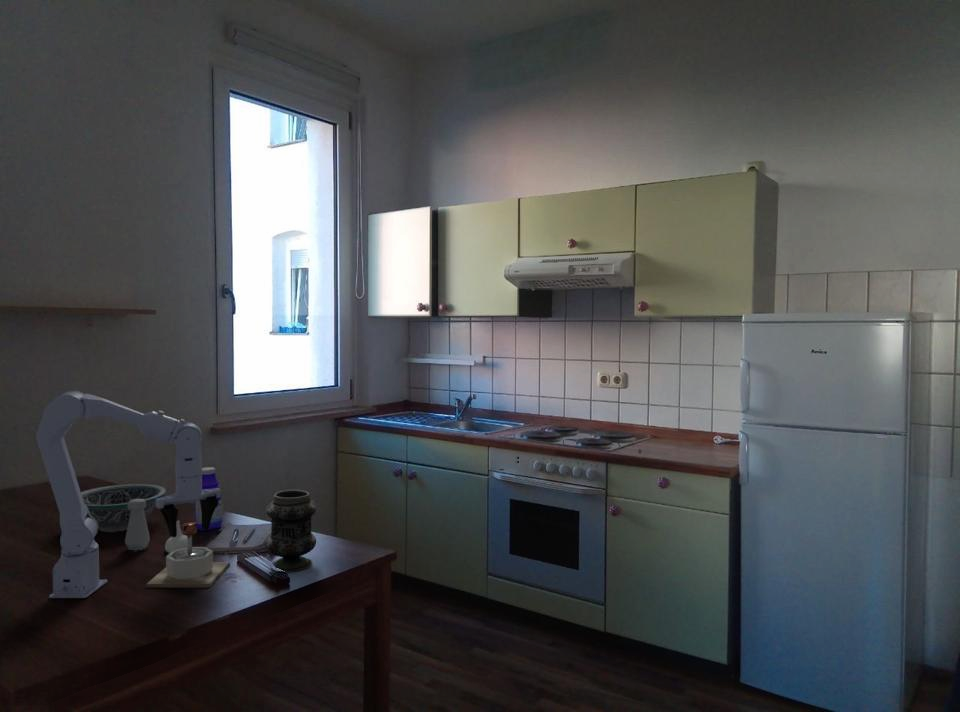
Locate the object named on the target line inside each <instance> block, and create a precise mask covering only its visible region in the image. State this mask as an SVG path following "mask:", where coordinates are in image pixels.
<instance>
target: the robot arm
mask: <svg viewBox="0 0 960 712" xmlns="http://www.w3.org/2000/svg"><path fill="white" fill-rule="evenodd" d="M84 415H85V416H84ZM83 416H84V419H85V420H89V419H93V418H99V417H103V418H106V419H110V420H113V421H116V422H120V423H123V424H126V425H130V426H134V427H136V428H138V429H139V431H140V433H141V435H142V436H145V437H149V438H151V439H154V440H158V441H160V442H163V443H166V444H170V445H171V444H174V445H175V447H176V449H175V450H176V456H175V457H174V459H175V460H174V461H175V462H174V463H175V466H174V467H175V469H174V470H175V493H173V494H168V495H164V496H162V497H161V498H157V499H156V505H155V508H156V509H158V510H159V512H161V513H160V514H162V516H163V519H164V520H165V523H166V527H167V529H168V534H169V536H170V537H176V536H177V525H176V522H177V521H178V514H179V509H177V508H176V506H177V505H181V504H186V503H187V504H188V503H193V502H195V501H198V500H200V505H201V512H202V529H205V530H206V531H210V530H209V525H210V521H211V518H212V515H213V513H214V510H215V508H216V507H217V505H218V499H216V498H218V497H221V493H222V491H221V489H220V488H219V489H218V488H213V489H204V490H202V468H203V465H202V464H203V463H202V462H203V456H202V453H201V452H202V447H201V444H202V443H203V437H202V431H201V428H200V427H199V425H197V424H195V423H194V422H191V421H186V420H185V419H184V418H181V419H180V420H179V419H176V418H174V417H171V416H168V415H165V412H164V411H163V410H160V409H159V410H158V412H157V411H150V412H148V413H147V412H146V413H142V412H140V411H137V410H134V409H133V408H130V407H127V406H126V405H122V404H119V403H116V402H115V401H111V400H109V399H106V398H103V397H100V396H97V395H94V394H89V393H83V392H81V391H78V390H69V391H66V392H63V393H62V394H61V395H59V396H56V397H55V398H54V399H53V400H52V401H51V402H50V403H49V404H48V405H47V407H46V408H45V409H44V412H43V415H42V418H41V421H40V423H39V426H38V429H37V432H36V434H35V437H36V438H35V439H36V441H37V442H36V443H37V445H38V448H39V451H40V455H41V458H42V461H43V464H44V467H45V470H46V474H47V477H48V480H49V483H50V486H51V489H52V492H53V493H52V494H53V496H54V499H55V502H56V506H57V509H58V512H59V526H60V530H61V534H60V538H59V539H60V540H59V542H60V543H59V544H60V546H61V549H60V551H61V554H60V558H59V560H57V562H56V563H55V564H54V566H53V567H52V593H51V594H49V596H48V598H49V599H86V598H87V597H90V595H92V594H93V593H95V592H96V591H97V590H98V589H100V588H101V587H102V586H104V585H105V584H106V583H108V579H100V554H99V553H100V551H99V548H100V547H99V544H98V543H97V542H96V541H95V537H96V535H97V534H98V531H99V530H98V523H97V521H96V520H95V519H94V518H93V517H92V516H91V515H90V513H89V510H88V508H87V506H86V505H85V504H84V501H83V498H82V495H81V492H82V491H81V489H80V486H79V482H78V479H77V475H76V471H75V469H74V466H73V464H72V460H71V457H70V453H69V450H68V447H67V444H66V440H65V435H66V434H67V433H68V431H69V430H70V429H71V427H72V425H74V424H75V422H77V421H78V420H79V419H80V418H82V417H83Z"/></svg>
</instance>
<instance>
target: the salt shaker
mask: <svg viewBox="0 0 960 712" xmlns="http://www.w3.org/2000/svg"><path fill="white" fill-rule="evenodd" d="M145 507H146V501H145V500H144V499H133V500H130V501H129V502H128V509H129V510H131V512H130V518H129V523H128V528H127V531H126V535H125V539H124V544H125V545H126V547H127V548H128V551H129V550H134V551H133V552H138V551H137V550H140V551H144V550H145V549H147V548H146V547H148V544H149V542H150V538H151V537H150V533H149V528H148V524H147V523H148V522H147V518H145V513H144V508H145ZM143 549H144V550H143Z"/></svg>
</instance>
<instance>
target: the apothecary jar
mask: <svg viewBox="0 0 960 712" xmlns="http://www.w3.org/2000/svg"><path fill="white" fill-rule="evenodd" d="M316 511H317V506H316V503H315V502H314V501H313V500H311V497H310V492H309V491H306V490H301V489H286V490H285V489H284V490H280V491H277V492H275V493H274V494H273V500H272V501H271V502H270V503H269V504H268V505H267V508H266V515H267V516H268V517H269V518H270V519H271V531H270V535H269V536H268V537H267V538H266V541H265V548H266V551H267V552H268V553H270V554H271V555H273V556H276V557H280V558H279V559H277V560H274V561H273V562H272V563H271V564H273V565H274V566H275V567H276V568H279V569H281V570H283V571H285V572H284V573H295V572H300V571H304V570H306V569H309V568H310V567H311V566H312V565H313V561H312V560H311V559H310V558H308V557H305V556H304V555H307V554H308V553H310V552H312V551H313V550H314V548H315V547H316V545H317V538H316V536H315V534H313V533H312V517H313V516H314V514H316Z"/></svg>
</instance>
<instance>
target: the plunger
mask: <svg viewBox="0 0 960 712" xmlns="http://www.w3.org/2000/svg"><path fill="white" fill-rule="evenodd" d="M181 532H182V534H183V535H185V536H187V550H184V551H180V552H178V553H176V554H175V559H194V558H198V557H202V556H204V551H203V550H200V549H192V547H193V535H195V534H197V532H198V529H197V523H196V522H191V521H190V522H185V523H182V524H181Z"/></svg>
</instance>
